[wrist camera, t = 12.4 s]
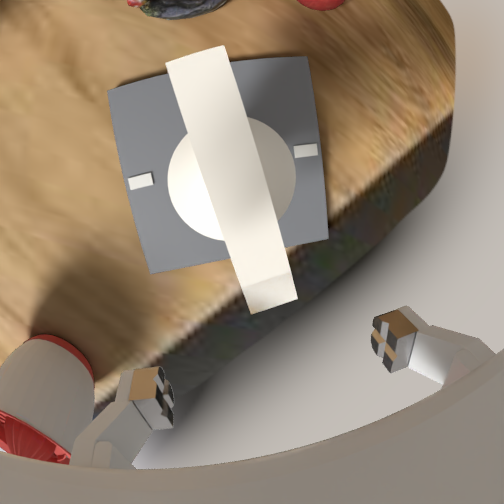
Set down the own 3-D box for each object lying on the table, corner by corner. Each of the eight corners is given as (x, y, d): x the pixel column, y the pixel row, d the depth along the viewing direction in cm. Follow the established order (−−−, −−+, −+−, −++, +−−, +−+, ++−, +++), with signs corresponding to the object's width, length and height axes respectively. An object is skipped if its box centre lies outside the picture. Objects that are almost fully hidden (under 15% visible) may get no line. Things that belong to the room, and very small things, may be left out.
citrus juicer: (91, 411, 41) (71, 505, 22) (11, 355, 34) (-34, 443, 16) (132, 372, 38) (113, 494, 20) (35, 301, 31) (-34, 408, 13)
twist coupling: (142, 94, 17) (118, 81, 12) (254, 59, 17) (271, 35, 12) (210, 282, 23) (212, 326, 18) (307, 250, 23) (334, 285, 18)
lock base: (152, 268, 32) (136, 316, 24) (111, 92, 24) (74, 78, 16) (323, 234, 34) (361, 269, 25) (302, 59, 26) (340, 35, 17)
